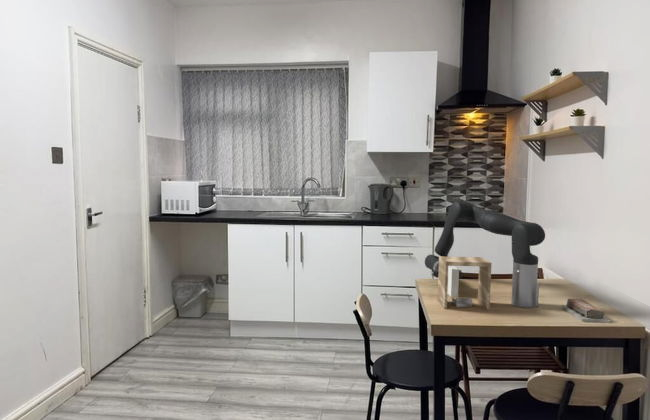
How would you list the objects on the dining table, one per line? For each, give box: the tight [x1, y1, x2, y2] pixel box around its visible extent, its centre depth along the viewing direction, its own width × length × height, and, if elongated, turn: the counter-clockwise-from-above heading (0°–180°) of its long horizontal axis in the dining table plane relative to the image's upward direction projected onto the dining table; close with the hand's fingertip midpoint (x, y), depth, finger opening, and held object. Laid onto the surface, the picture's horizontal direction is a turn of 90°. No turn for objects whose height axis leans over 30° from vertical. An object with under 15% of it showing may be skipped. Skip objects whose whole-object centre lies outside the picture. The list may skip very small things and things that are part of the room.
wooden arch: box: [437, 255, 492, 311], centre depth 191 cm, size 18×12×18 cm
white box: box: [447, 266, 460, 298], centre depth 211 cm, size 3×12×12 cm, turn 179°
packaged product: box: [561, 298, 611, 324], centre depth 181 cm, size 18×5×10 cm
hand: (451, 277), depth 211 cm, fingers open, 5 cm apart
